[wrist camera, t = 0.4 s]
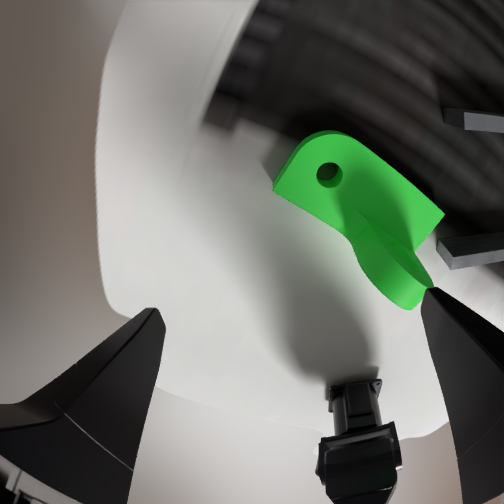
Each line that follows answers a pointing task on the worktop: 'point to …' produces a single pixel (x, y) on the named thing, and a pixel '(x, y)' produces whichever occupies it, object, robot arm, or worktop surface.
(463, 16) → the worktop surface
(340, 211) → the mechanical part
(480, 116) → the seating bracket
